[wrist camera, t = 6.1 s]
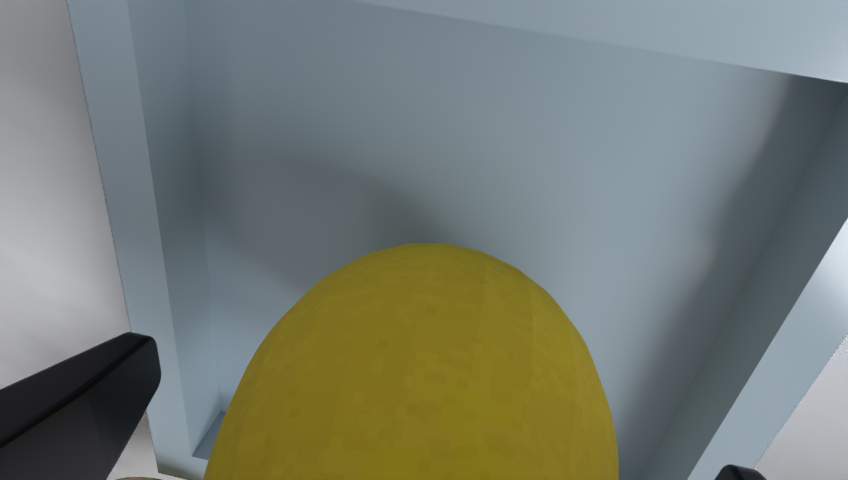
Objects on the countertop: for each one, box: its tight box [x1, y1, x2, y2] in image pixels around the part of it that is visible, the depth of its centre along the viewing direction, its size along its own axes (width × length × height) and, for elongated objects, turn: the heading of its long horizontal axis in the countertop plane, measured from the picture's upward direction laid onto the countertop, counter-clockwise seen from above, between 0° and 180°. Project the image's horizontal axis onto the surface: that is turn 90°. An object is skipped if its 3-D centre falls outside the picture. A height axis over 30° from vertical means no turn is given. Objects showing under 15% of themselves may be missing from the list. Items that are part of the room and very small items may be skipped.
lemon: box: [203, 243, 619, 480], centre depth 8 cm, size 6×6×8 cm
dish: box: [67, 0, 848, 480], centre depth 11 cm, size 13×13×2 cm
